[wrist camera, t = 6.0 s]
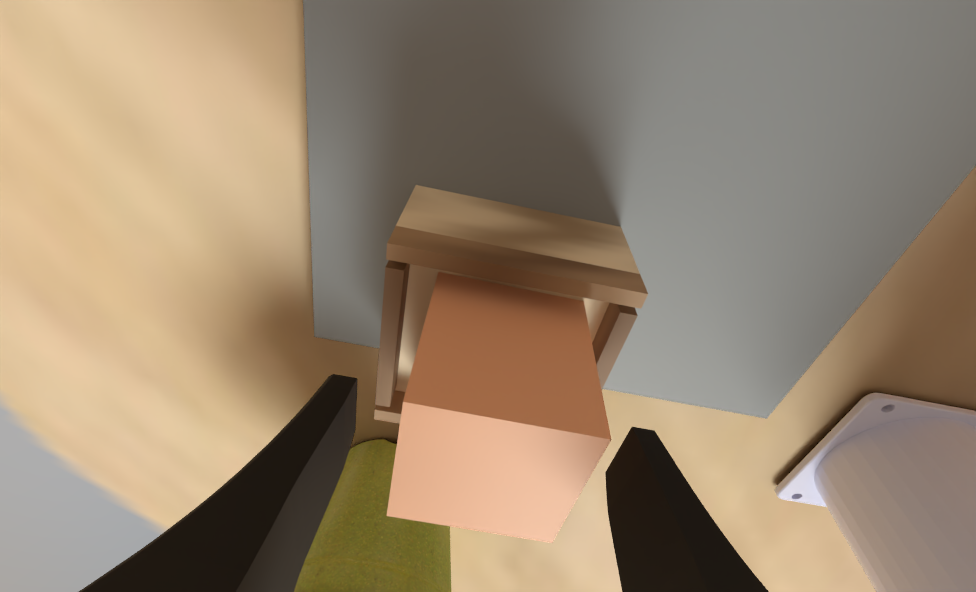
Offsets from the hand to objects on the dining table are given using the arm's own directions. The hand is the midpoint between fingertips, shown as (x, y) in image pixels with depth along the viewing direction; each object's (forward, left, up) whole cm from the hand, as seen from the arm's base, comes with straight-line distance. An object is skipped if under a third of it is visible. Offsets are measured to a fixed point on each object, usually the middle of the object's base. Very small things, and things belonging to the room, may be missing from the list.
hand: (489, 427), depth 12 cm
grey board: (-3, -5, -7) cm, 9 cm away
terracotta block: (0, 0, -3) cm, 3 cm away
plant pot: (+3, +14, -8) cm, 16 cm away
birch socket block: (0, 0, -6) cm, 6 cm away
